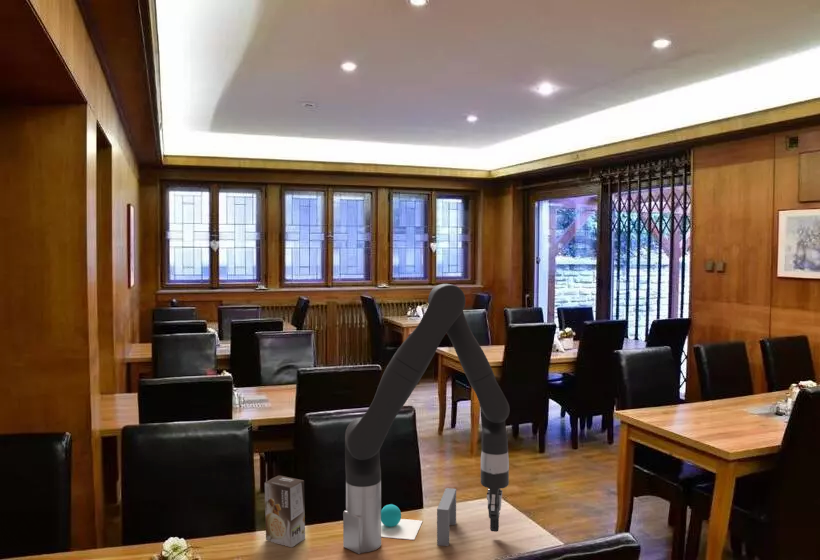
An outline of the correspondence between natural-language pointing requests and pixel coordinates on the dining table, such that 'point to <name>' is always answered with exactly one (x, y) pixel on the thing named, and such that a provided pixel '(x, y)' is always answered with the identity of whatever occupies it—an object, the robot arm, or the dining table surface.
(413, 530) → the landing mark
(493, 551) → the dining table surface
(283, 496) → the coffee box
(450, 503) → the bridge
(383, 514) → the ball
